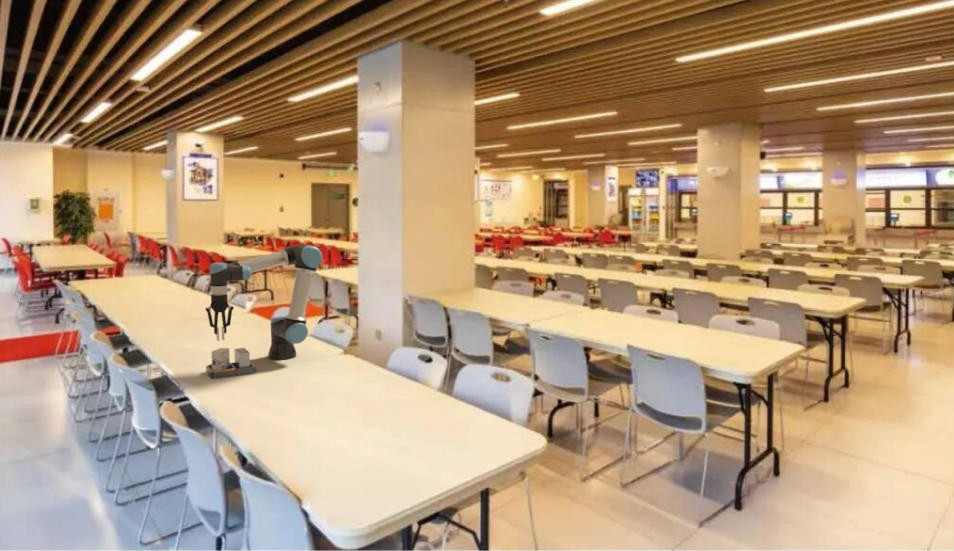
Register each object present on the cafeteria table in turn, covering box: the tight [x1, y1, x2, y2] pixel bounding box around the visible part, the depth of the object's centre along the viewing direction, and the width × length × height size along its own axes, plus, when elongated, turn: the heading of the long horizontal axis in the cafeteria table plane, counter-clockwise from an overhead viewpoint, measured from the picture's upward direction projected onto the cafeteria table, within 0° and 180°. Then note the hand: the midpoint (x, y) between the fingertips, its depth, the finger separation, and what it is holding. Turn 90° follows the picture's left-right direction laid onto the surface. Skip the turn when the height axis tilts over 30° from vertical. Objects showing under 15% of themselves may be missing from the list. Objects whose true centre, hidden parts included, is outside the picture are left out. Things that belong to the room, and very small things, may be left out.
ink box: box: [211, 347, 231, 371], centre depth 304 cm, size 9×5×12 cm, turn 170°
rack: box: [206, 347, 257, 380], centre depth 307 cm, size 21×15×11 cm
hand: (220, 340), depth 303 cm, fingers open, 2 cm apart
